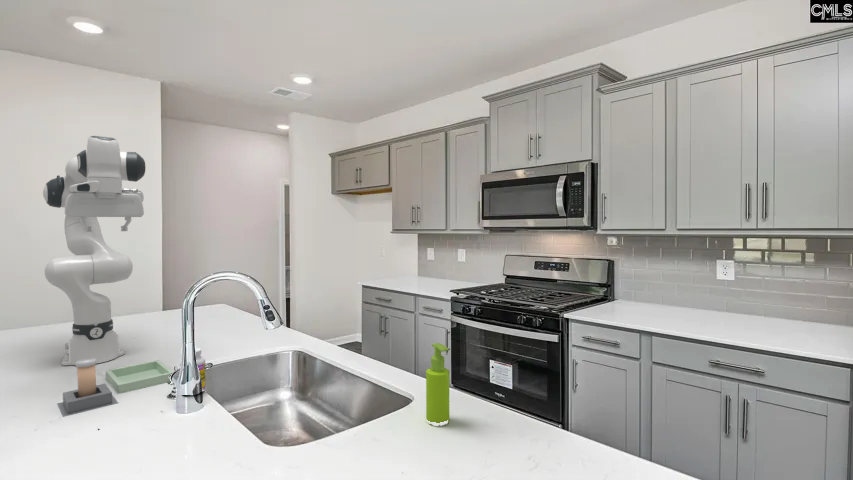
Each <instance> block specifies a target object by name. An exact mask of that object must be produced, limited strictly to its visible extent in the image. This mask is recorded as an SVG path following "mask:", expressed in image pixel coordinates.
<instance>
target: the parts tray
mask: <svg viewBox="0 0 853 480" xmlns="http://www.w3.org/2000/svg"><path fill="white" fill-rule="evenodd" d="M173 371H174V370H173V369H171V368H170V367H169V366H167V365H166V364H165V363H164V362H162V361H161V360H159V359H158V360H151V361H146V362H142V363H137V364H131V365H127V366H122V367H117V368H112V369H107V370H105V378H106V380H107V382H109V385H111V386H112V388H113V389H114V390H115V392H116V393H118V394H123V393H128V392H131V391H137V390H140V389H145V388H148V387H152V386H156V385H162V384H165V383H166V384H167V385H169V384H170V383H171V381H170V379H169V378H168V376H169V375H170V374H171V373H172V372H173Z"/></svg>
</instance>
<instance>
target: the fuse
mask: <svg viewBox="0 0 853 480" xmlns="http://www.w3.org/2000/svg"><path fill="white" fill-rule="evenodd" d="M96 364H97V363H96V358H86V359H81V360H78V361H76V365H75V366H76V367H75V368H76V373H77V375H76V376H77V389H78V398H80V397H84V396H89V395H93V394H96V385H97V376H96V375H97V373H96Z"/></svg>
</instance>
